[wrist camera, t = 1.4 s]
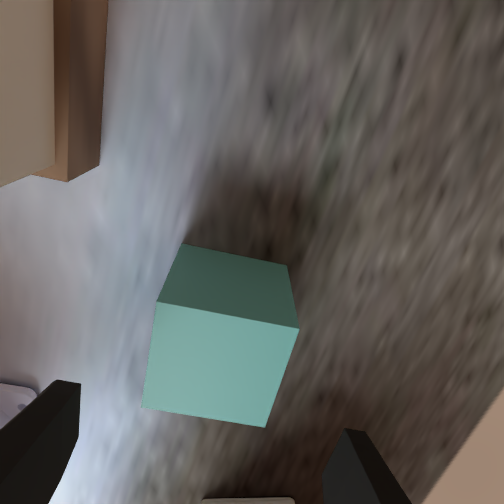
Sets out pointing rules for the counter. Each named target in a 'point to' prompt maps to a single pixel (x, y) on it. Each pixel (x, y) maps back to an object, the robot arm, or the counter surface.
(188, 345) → the teal block
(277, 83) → the counter surface
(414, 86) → the counter surface
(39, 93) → the cream middle slab
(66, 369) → the counter surface
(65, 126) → the walnut base slab
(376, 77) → the counter surface
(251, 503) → the skincare box
